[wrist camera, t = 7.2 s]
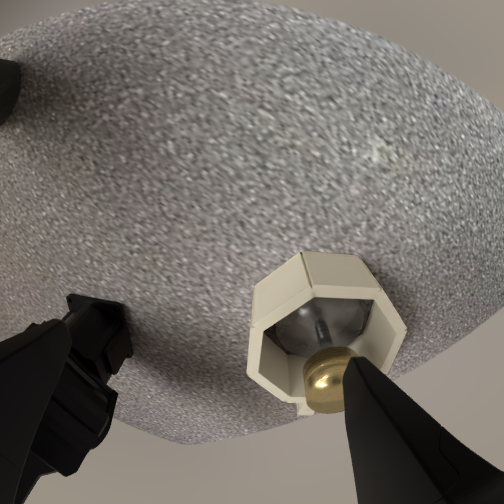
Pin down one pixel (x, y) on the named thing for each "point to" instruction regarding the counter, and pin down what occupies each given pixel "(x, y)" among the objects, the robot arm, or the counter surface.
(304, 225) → the counter surface
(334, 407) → the plunger
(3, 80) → the travel mug
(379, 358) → the cream octagonal ring
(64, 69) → the counter surface
